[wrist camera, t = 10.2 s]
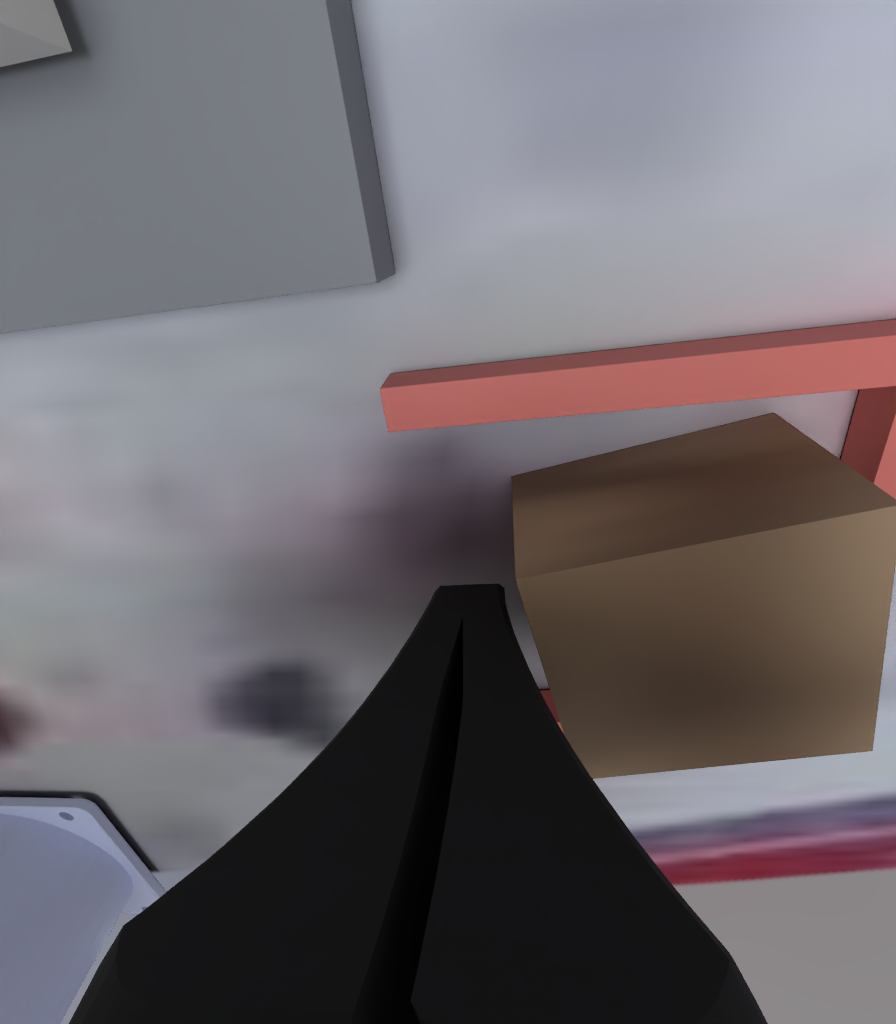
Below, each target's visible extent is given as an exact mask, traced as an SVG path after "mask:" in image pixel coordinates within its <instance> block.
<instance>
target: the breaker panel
mask: <svg viewBox="0 0 896 1024" xmlns="http://www.w3.org/2000/svg"><path fill="white" fill-rule="evenodd" d="M53 1H54V3H55V6H56V9H57V11H58V14H59V17H60V19H61V22H62V25H63V27H64V30H65V33H66V35H67V38H68V41H69V43H70V46H71V49H72V51H71V52H66V53H62V54H57V55H53V56H48V57H44V58H39V59H35V60H30V61H26V62H21V63H17V64H12V65H8V66H3V67H0V334H1V333H8V332H16V331H23V330H31V329H38V328H46V327H53V326H60V325H68V324H75V323H83V322H90V321H97V320H105V319H112V318H120V317H127V316H135V315H142V314H149V313H157V312H164V311H172V310H179V309H187V308H194V307H201V306H209V305H216V304H224V303H231V302H238V301H246V300H253V299H261V298H268V297H276V296H283V295H290V294H298V293H305V292H313V291H320V290H328V289H335V288H342V287H350V286H357V285H365V284H372V283H377V282H379V281H381V280H383V279H385V278H387V277H389V276H391V275H393V274H395V269H394V263H393V257H392V251H391V245H390V239H389V232H388V226H387V220H386V214H385V208H384V202H383V196H382V190H381V184H380V177H379V171H378V165H377V159H376V153H375V147H374V141H373V135H372V129H371V122H370V116H369V110H368V104H367V98H366V92H365V86H364V80H363V73H362V67H361V61H360V55H359V49H358V43H357V37H356V31H355V25H354V18H353V12H352V6H351V0H53Z"/></svg>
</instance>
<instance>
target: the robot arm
mask: <svg viewBox="0 0 896 1024" xmlns="http://www.w3.org/2000/svg"><path fill="white" fill-rule="evenodd" d="M121 913H127V914H138V915H137V916H136V917H134V918H133V919H132V920H130V921H129V922H128V923H126V924H125V925H124V926H123V928H122V929H121V931H120V932H119V934H118V936H117V938H116V939H115V941H114V943H113V944H112V946H111V948H110V949H109V951H108V952H107V954H106V956H105V957H104V959H103V960H102V962H101V964H100V965H99V967H98V969H97V971H96V973H95V975H94V977H93V979H92V981H91V983H90V985H89V986H88V989H87V990H86V992H85V994H84V996H83V998H82V1000H81V1002H80V1004H79V1006H78V1007H77V1009H76V1011H75V1013H74V1015H73V1017H72V1019H71V1021H70V1023H69V1024H768V1023H767V1022H766V1019H765V1018H764V1016H763V1014H762V1012H761V1010H760V1008H759V1006H758V1004H757V1002H756V1000H755V998H754V996H753V995H752V993H751V991H750V989H749V987H748V985H747V983H746V982H745V980H744V978H743V976H742V974H741V972H740V971H739V969H738V967H737V965H736V963H735V962H734V960H733V958H732V956H731V955H730V953H729V952H728V951H727V950H726V948H725V947H724V946H723V945H722V943H721V942H720V941H719V940H718V939H717V938H716V937H715V936H714V934H713V933H712V932H711V931H710V930H709V928H708V927H707V926H706V925H705V924H704V923H703V921H702V920H701V919H700V918H699V917H698V916H697V914H696V913H695V912H694V911H693V910H692V908H691V907H690V906H689V905H688V904H687V902H686V901H685V900H684V899H683V898H682V896H681V895H680V894H679V893H678V892H677V890H676V889H675V888H674V887H673V885H672V884H671V883H670V882H669V881H668V879H667V878H666V877H665V876H664V874H663V873H662V872H661V871H660V869H659V868H658V867H657V865H656V864H655V863H654V862H653V860H652V859H651V858H650V857H649V855H648V854H647V853H646V851H645V850H644V849H643V848H642V846H641V845H640V844H639V843H638V841H637V840H636V839H635V837H634V836H633V835H632V833H631V832H630V831H629V829H628V828H627V826H626V825H625V824H624V822H623V821H622V820H621V818H620V817H619V815H618V814H617V813H616V811H615V810H614V808H613V807H612V806H611V804H610V803H609V801H608V800H607V799H606V797H605V796H604V794H603V793H602V792H601V790H600V789H599V788H598V786H597V785H596V783H595V782H594V781H593V779H592V778H591V776H590V775H589V773H588V772H587V770H586V768H585V767H584V765H583V764H582V762H581V761H580V759H579V758H578V756H577V755H576V753H575V751H574V750H573V748H572V747H571V745H570V743H569V742H568V740H567V738H566V737H565V735H564V733H563V732H562V730H561V728H560V727H559V725H558V723H557V722H556V720H555V718H554V716H553V715H552V713H551V711H550V709H549V707H548V705H547V704H546V702H545V700H544V698H543V696H542V694H541V692H540V690H539V688H538V686H537V684H536V682H535V680H534V678H533V676H532V674H531V672H530V670H529V667H528V665H527V663H526V661H525V658H524V656H523V653H522V651H521V649H520V646H519V644H518V642H517V639H516V636H515V634H514V631H513V628H512V625H511V622H510V619H509V615H508V611H507V608H506V603H505V592H504V588H503V587H502V586H501V585H500V584H498V583H497V584H475V585H453V586H440V587H439V588H438V589H437V590H436V591H435V593H434V595H433V597H432V599H431V601H430V603H429V605H428V606H427V608H426V610H425V612H424V614H423V615H422V617H421V619H420V620H419V622H418V624H417V625H416V627H415V629H414V630H413V632H412V634H411V635H410V637H409V638H408V640H407V642H406V643H405V645H404V646H403V648H402V649H401V651H400V652H399V654H398V655H397V657H396V658H395V660H394V662H393V663H392V664H391V666H390V667H389V669H388V670H387V671H386V673H385V674H384V676H383V677H382V678H381V680H380V681H379V682H378V684H377V685H376V686H375V688H374V689H373V691H372V692H371V693H370V695H369V696H368V697H367V699H366V700H365V701H364V703H363V704H362V705H361V706H360V708H359V709H358V710H357V711H356V713H355V714H354V715H353V716H352V717H351V719H350V720H349V721H348V722H347V723H346V725H345V726H344V727H343V728H342V729H341V730H340V732H339V733H338V734H337V735H336V736H335V737H334V738H333V740H332V741H331V742H330V743H329V744H328V745H327V746H326V747H325V749H324V750H323V751H322V752H321V753H320V754H319V755H318V756H317V757H316V758H315V759H314V760H313V761H312V762H311V763H310V764H309V765H308V766H307V768H306V769H305V770H304V771H303V772H302V773H301V774H300V775H299V776H298V777H297V778H296V779H295V780H294V781H293V782H292V783H291V784H290V785H289V786H288V787H287V788H286V789H285V790H284V791H283V792H282V793H281V794H280V795H279V796H278V797H277V798H276V799H275V800H274V801H272V802H271V803H270V804H269V805H268V806H267V807H266V808H265V809H264V810H263V811H261V812H260V813H259V814H258V815H257V816H256V817H255V818H254V819H253V820H252V821H250V822H249V823H248V824H247V825H246V826H245V827H244V828H243V829H242V830H240V831H239V832H238V833H237V834H236V835H235V836H234V837H233V838H232V839H231V840H229V841H228V842H227V843H226V844H225V845H224V846H223V847H222V848H220V849H219V850H218V851H217V852H216V853H215V854H213V855H212V856H211V857H210V858H209V859H207V860H206V861H205V862H204V863H203V864H201V865H200V866H199V867H198V868H196V869H195V870H194V871H193V872H191V873H190V874H189V875H187V876H186V877H185V878H184V879H182V880H181V881H180V882H179V883H177V884H176V885H175V886H174V887H172V888H171V889H170V890H169V891H167V892H166V891H165V889H164V888H163V887H162V886H161V884H160V883H159V882H158V881H157V879H156V878H155V877H154V876H153V874H152V873H151V872H150V871H149V869H148V868H147V867H146V866H145V864H144V863H143V862H142V861H141V859H140V858H139V857H138V856H137V854H136V853H135V852H134V851H133V849H132V848H131V847H130V846H129V844H128V843H127V842H126V841H125V839H124V838H123V837H122V836H121V834H120V833H119V832H118V831H117V829H116V828H115V827H114V826H113V825H112V823H111V822H110V821H109V820H108V818H107V817H106V816H105V815H104V813H103V812H102V811H101V810H100V808H99V807H98V806H97V805H96V804H95V803H93V802H92V801H90V800H87V799H82V798H32V797H0V1024H60V1023H61V1021H62V1020H63V1018H64V1016H65V1014H66V1012H67V1010H68V1008H69V1007H70V1005H71V1003H72V1001H73V999H74V997H75V996H76V994H77V992H78V990H79V989H80V987H81V985H82V983H83V981H84V979H85V978H86V976H87V974H88V972H89V970H90V968H91V967H92V965H93V963H94V961H95V959H96V957H97V955H98V953H99V952H100V950H101V948H102V946H103V945H104V943H105V941H106V939H107V937H108V936H109V934H110V932H111V930H112V928H113V927H114V925H115V923H116V921H117V919H118V917H119V916H120V914H121Z"/></svg>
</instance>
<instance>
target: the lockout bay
mask: <svg viewBox="0 0 896 1024" xmlns="http://www.w3.org/2000/svg"><path fill="white" fill-rule="evenodd" d="M856 389H860V391H859V395H858V398H857V402H856V406H855V409H854V413H853V417H852V420H851V424H850V427H849V431H848V435H847V438H846V442H845V446H844V449H843V453H842V457H841V461H843V462H844V463H845V464H847V465H848V466H850V467H851V468H852V469H854V470H855V471H857V472H858V473H859V474H861V475H862V476H864V477H865V478H866V479H868V480H869V481H871V482H872V483H873V484H875V485H876V486H878V487H879V488H880V489H882V490H883V491H885V492H886V493H887V494H889V495H890V496H892V497H893V498H895V499H896V319H892V320H883V321H873V322H864V323H855V324H845V325H836V326H827V327H818V328H808V329H799V330H790V331H780V332H771V333H762V334H753V335H743V336H734V337H725V338H716V339H706V340H697V341H688V342H678V343H669V344H660V345H651V346H641V347H632V348H623V349H613V350H604V351H595V352H586V353H576V354H567V355H558V356H549V357H539V358H530V359H521V360H511V361H502V362H493V363H484V364H474V365H465V366H456V367H446V368H437V369H428V370H419V371H409V372H400V373H391V374H390V375H389V377H388V378H387V379H386V381H385V382H384V384H383V385H382V386H381V388H380V392H381V397H382V402H383V407H384V412H385V417H386V422H387V427H388V432H393V431H404V430H415V429H426V428H437V427H448V426H459V425H470V424H481V423H492V422H503V421H514V420H525V419H536V418H547V417H558V416H569V415H581V414H592V413H603V412H614V411H625V410H636V409H647V408H658V407H669V406H680V405H691V404H702V403H713V402H724V401H735V400H746V399H757V398H768V397H779V396H790V395H801V394H812V393H823V392H834V391H845V390H856ZM540 692H541V694H542V696H543V698H544V700H545V702H546V704H547V705H548V707H549V709H550V711H551V713H552V715H553V716H554V718H555V720H556V722H557V723H558V725H559V727H560V728H561V730H562V732H563V729H562V726H561V723H560V720H559V717H558V714H557V710H556V707H555V704H554V701H553V698H552V694H551V691H550V690H540Z"/></svg>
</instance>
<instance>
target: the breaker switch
mask: <svg viewBox="0 0 896 1024" xmlns="http://www.w3.org/2000/svg"><path fill="white" fill-rule="evenodd" d="M71 51H72V49H71V46H70V43H69V41H68V38H67V35H66V33H65V30H64V27H63V25H62V22H61V19H60V17H59V14H58V11H57V9H56V6H55V3H54V1H53V0H0V67H3V66H8V65H12V64H17V63H21V62H26V61H30V60H35V59H39V58H44V57H48V56H53V55H57V54H62V53H66V52H71Z"/></svg>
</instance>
